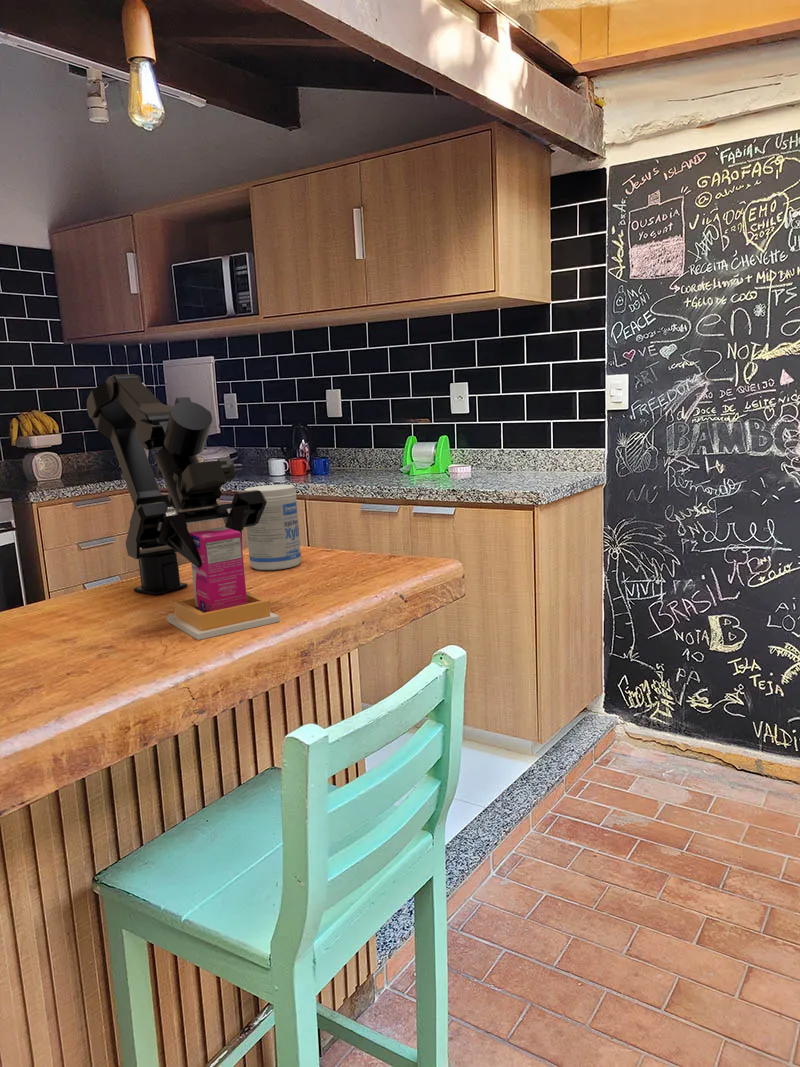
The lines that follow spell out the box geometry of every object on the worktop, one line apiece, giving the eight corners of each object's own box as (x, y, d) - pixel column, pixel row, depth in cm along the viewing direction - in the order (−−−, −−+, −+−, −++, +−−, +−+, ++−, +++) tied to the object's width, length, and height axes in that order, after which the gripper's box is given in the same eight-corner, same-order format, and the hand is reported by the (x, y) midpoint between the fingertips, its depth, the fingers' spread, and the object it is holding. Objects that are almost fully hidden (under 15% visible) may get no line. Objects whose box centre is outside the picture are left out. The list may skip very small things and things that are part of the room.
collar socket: (167, 621, 117) (165, 601, 117) (244, 605, 124) (242, 586, 123) (198, 640, 107) (195, 618, 107) (279, 621, 114) (278, 600, 114)
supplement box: (194, 610, 116) (187, 531, 114) (232, 602, 120) (226, 526, 117) (209, 618, 111) (202, 536, 109) (249, 610, 115) (243, 530, 113)
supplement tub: (300, 569, 147) (294, 488, 144) (247, 573, 146) (240, 492, 143) (302, 558, 156) (296, 482, 153) (252, 561, 155) (246, 485, 153)
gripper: (128, 446, 109) (164, 537, 102) (256, 435, 119) (296, 517, 113) (118, 498, 117) (150, 586, 110) (238, 484, 127) (275, 564, 120)
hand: (220, 562), depth 113 cm, fingers closed on supplement box, 6 cm apart
